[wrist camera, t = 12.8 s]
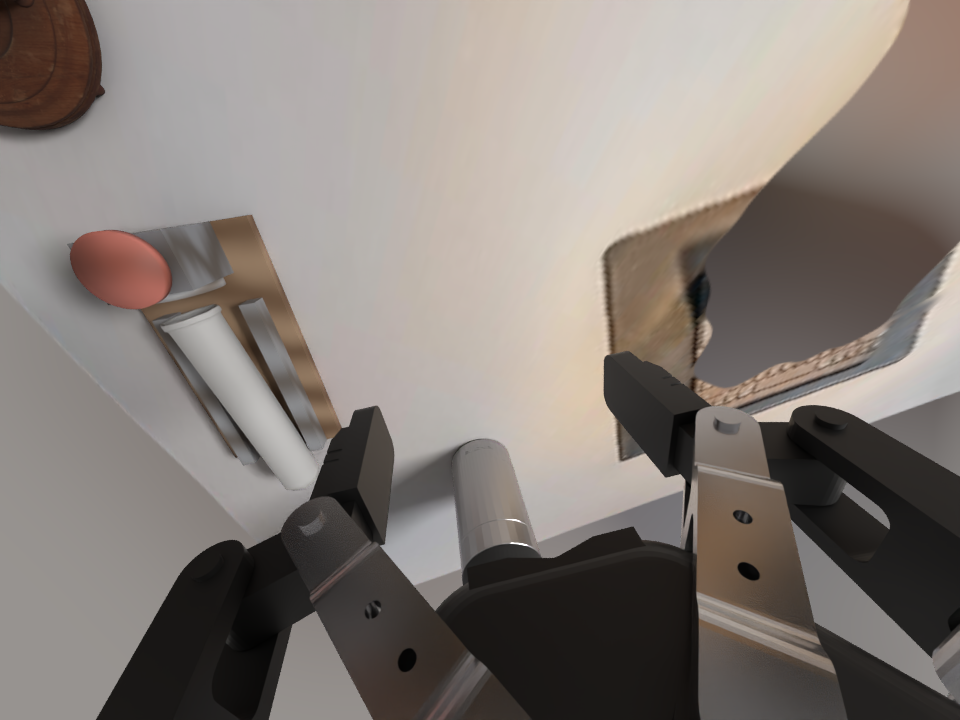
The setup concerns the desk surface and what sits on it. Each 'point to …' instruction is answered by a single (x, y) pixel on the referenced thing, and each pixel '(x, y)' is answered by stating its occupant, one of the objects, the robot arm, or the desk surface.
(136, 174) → the desk surface
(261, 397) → the tube
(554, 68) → the desk surface
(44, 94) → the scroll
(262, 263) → the pipe rack
